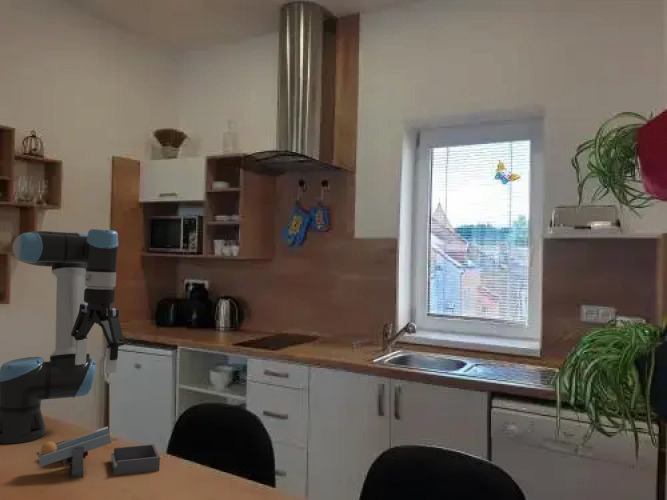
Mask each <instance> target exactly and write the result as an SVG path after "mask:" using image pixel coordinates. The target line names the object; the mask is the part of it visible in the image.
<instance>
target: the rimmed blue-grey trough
mask: <svg viewBox="0 0 667 500" xmlns="http://www.w3.org/2000/svg"><path fill="white" fill-rule="evenodd" d="M74 438H75V439H73V438H71V439H72V440H69V439H68V440H69V441H66V442H63V443H60V444H57V445H56V446H57V450H56V451H55V452H52V453H49V454H46V455H43V454H42V453H41V450H40V451H39V453H38V454H39V455H38V463H39V467H40V468H41V467H45V466H47V465H50V464H53V463H56V462H60V461H62V460H63V459H66V458H69V457H72V456H73V448H83V447H84V451H83V452H86V451H88V452H89V451H92V450H95V449H98V448H101V447H104V446H107V445H111V444H112V439H111V436H110V431H109V427H108V426H104V427H101V428H99V429H96V431H94V432H91V433H87V434H85V435H81V436H78V437H74Z"/></svg>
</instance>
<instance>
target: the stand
mask: <svg viewBox="0 0 667 500" xmlns="http://www.w3.org/2000/svg"><path fill="white" fill-rule="evenodd" d="M83 451H84V447H83V448H73V456H72V464H69V472H70V473H69V476H70V477H69V478H70V479H77V478H84V464H83V463H84V459H83Z"/></svg>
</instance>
